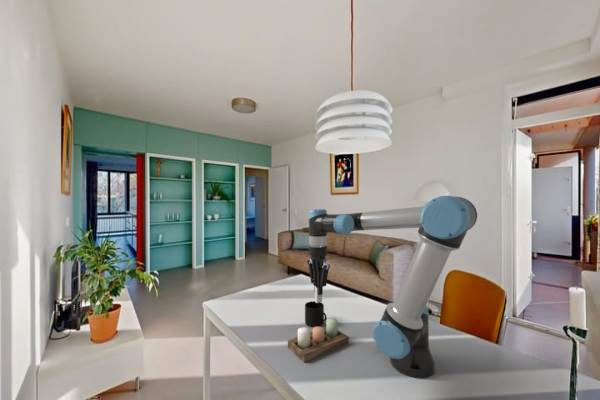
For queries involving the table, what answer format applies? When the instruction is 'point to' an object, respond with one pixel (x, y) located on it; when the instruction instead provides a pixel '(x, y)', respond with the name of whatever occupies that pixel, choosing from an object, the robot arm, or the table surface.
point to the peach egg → (318, 334)
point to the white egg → (303, 338)
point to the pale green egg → (332, 327)
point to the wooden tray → (318, 346)
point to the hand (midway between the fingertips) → (318, 301)
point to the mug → (314, 314)
